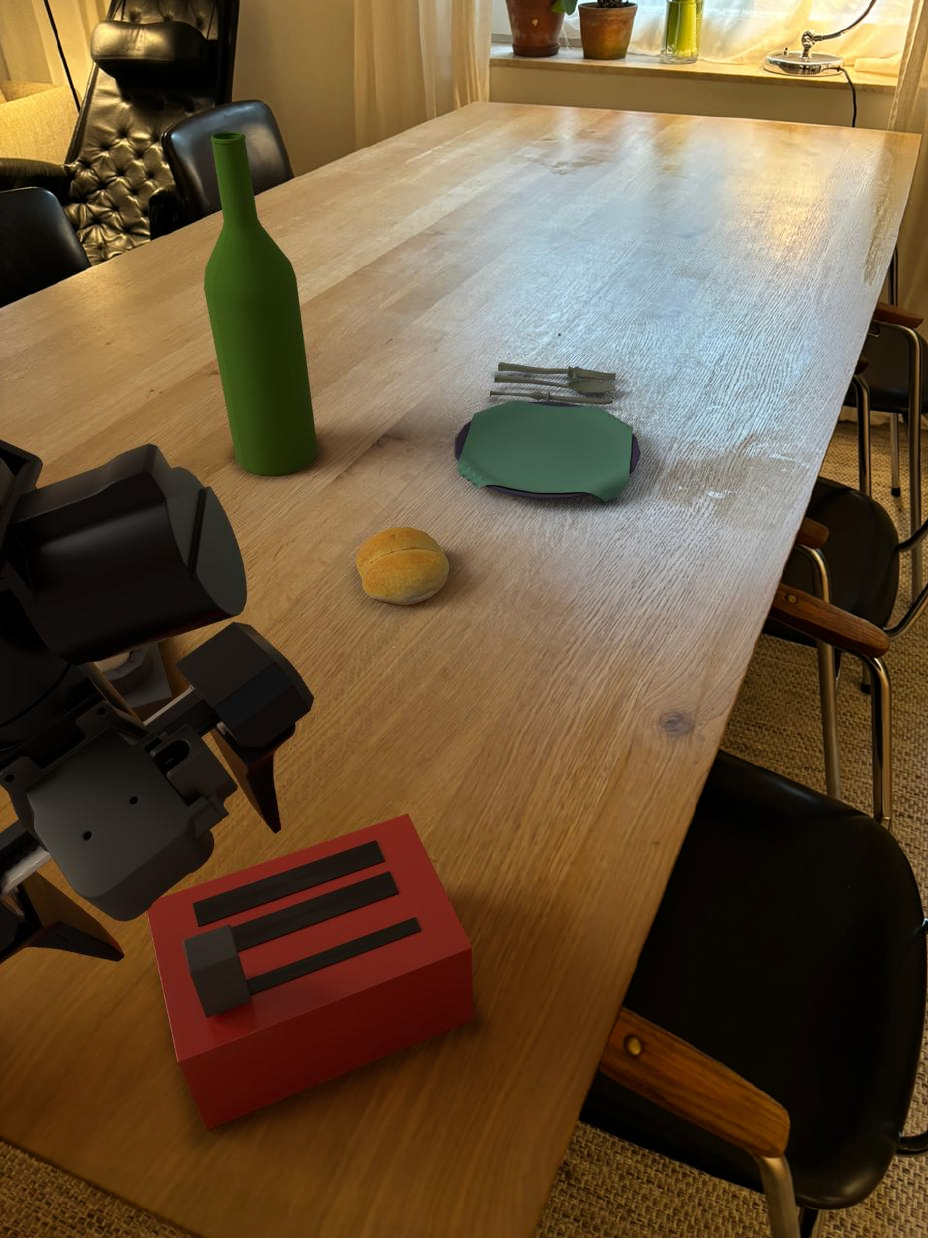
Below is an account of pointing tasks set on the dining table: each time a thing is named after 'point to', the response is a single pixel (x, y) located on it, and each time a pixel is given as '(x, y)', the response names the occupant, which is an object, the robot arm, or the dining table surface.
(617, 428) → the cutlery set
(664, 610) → the dining table surface
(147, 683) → the block
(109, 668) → the button
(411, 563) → the bread roll
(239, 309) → the wine bottle
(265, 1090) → the toaster
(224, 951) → the slider
